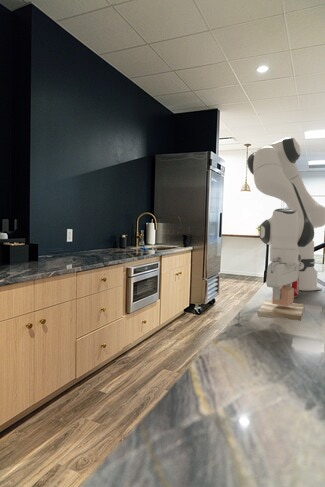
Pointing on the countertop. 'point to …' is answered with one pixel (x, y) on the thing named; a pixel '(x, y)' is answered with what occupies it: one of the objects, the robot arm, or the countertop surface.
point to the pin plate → (282, 310)
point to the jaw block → (284, 296)
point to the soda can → (295, 287)
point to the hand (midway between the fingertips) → (282, 297)
